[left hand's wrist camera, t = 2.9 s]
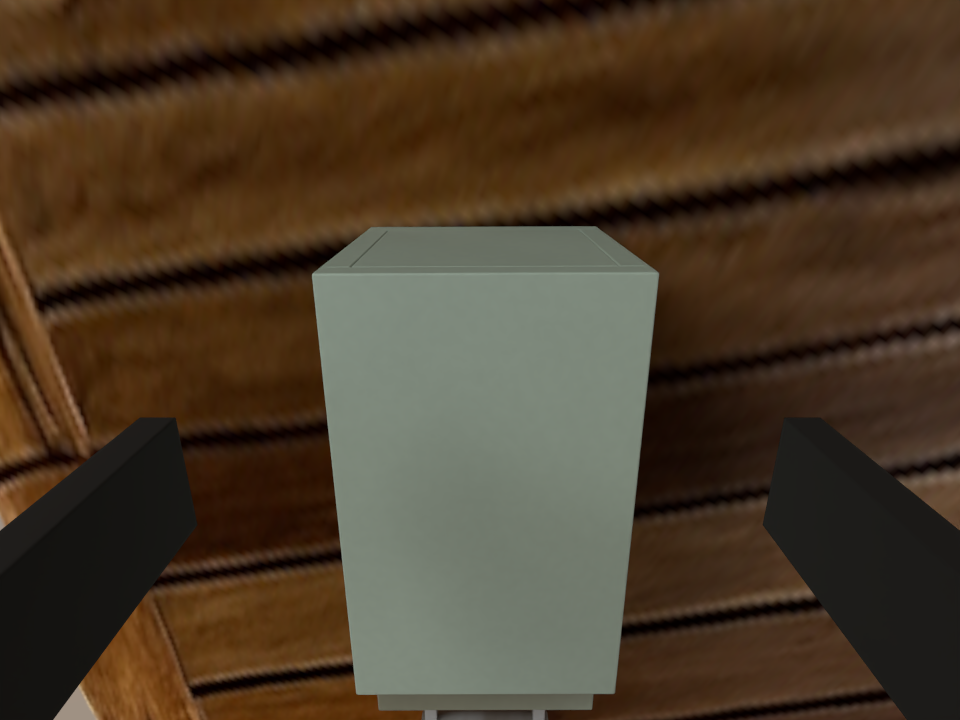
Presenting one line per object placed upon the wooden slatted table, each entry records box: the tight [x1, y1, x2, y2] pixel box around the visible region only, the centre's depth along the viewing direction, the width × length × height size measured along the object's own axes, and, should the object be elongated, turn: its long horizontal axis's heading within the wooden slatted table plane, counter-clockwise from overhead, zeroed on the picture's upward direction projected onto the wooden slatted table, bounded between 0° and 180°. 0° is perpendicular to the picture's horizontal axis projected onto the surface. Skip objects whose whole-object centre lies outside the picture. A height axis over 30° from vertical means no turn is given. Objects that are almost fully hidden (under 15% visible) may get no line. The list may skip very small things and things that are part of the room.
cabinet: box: [312, 226, 659, 695], centre depth 25 cm, size 17×10×10 cm, turn 0°
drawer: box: [378, 694, 593, 720], centre depth 27 cm, size 22×9×8 cm, turn 0°
